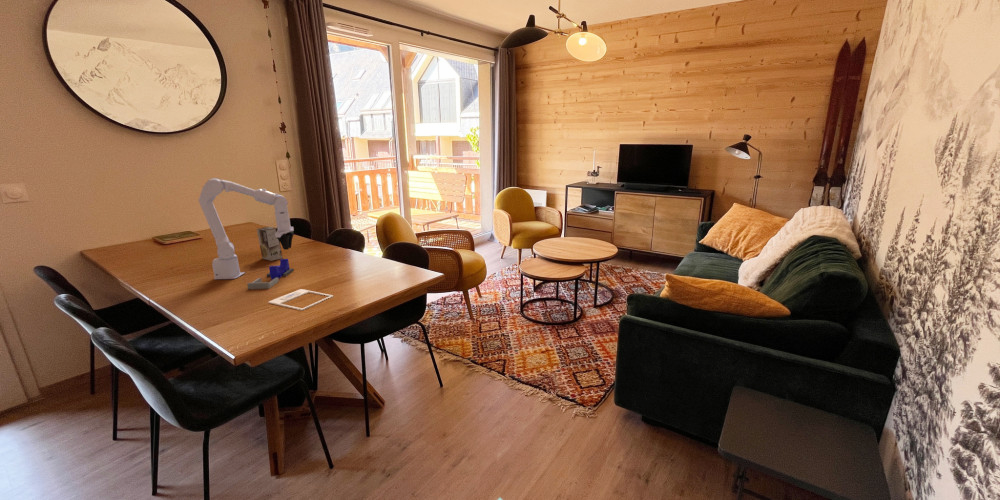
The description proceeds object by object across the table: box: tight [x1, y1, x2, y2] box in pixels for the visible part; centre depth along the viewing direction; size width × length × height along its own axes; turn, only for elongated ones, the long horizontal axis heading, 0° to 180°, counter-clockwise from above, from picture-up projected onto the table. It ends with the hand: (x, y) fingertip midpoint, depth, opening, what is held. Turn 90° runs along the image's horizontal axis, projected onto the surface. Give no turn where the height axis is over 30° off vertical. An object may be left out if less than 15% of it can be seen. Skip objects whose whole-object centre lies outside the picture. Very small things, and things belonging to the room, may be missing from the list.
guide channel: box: [266, 268, 294, 278], centre depth 186 cm, size 8×8×1 cm
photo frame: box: [267, 288, 334, 312], centre depth 155 cm, size 15×1×18 cm
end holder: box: [246, 277, 280, 290], centre depth 171 cm, size 8×9×2 cm
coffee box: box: [256, 226, 284, 262], centre depth 208 cm, size 9×6×16 cm
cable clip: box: [268, 258, 291, 280], centre depth 184 cm, size 12×4×6 cm, turn 4°
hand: (287, 248), depth 193 cm, fingers open, 2 cm apart
